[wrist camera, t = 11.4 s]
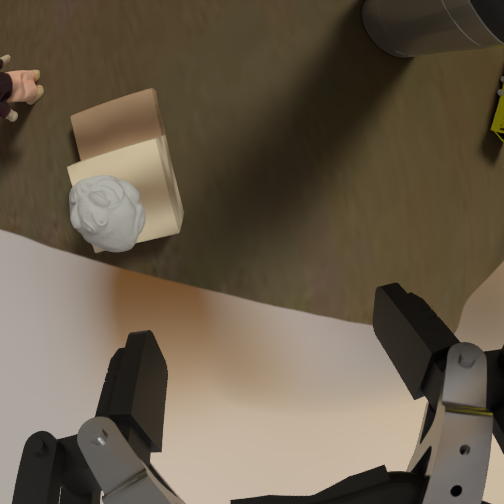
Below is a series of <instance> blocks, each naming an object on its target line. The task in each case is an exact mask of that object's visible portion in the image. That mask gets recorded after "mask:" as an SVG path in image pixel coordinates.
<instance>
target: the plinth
mask: <svg viewBox="0 0 504 504" xmlns="http://www.w3.org/2000/svg"><path fill="white" fill-rule="evenodd" d="M71 121H72V126H73V130H74V135H75V139H76V143H77V147H78V151H79V155H80V159H81V161H80V162H78V163H75V164H73V165H71V166H69V167H67V168H68V172H69V176H70V179H71V183H72V186H74V185H75V184H76V183H77V182H79V181H81V180H83V179H85V178H90V177H95V176H101V175H110V176H113V177H116V178H117V180H120V179H124V180H126V181H128V182H130V183H131V184H132V185H133V186H134V187H135V188H136V189H137V190H138V191H139V193H140V200H141V203H142V205H143V207H144V209H145V225H144V227H143V230H142V232H141V233H140V234H139V235H138V238H137V241H136V243H139V242H143V241H147V240H152V239H156V238H160V237H165V236H169V235H173V234H178V233H180V228H181V224H182V220H183V216H184V211H183V207H182V203H181V199H180V195H179V191H178V187H177V183H176V178H175V174H174V170H173V166H172V162H171V157H170V153H169V149H168V144H167V140H166V135H165V131H164V126H163V121H162V117H161V112H160V107H159V102H158V97H157V92H156V90H155V89H152V88H151V89H147V90H144V91H140V92H137V93H134V94H130V95H127V96H124V97H121V98H118V99H115V100H112V101H109V102H106V103H104V104H101V105H98V106H95V107H93V108H90V109H87V110H85V111H82V112H80V113H77V114H75V115H72V116H71ZM92 246H93V248H94V251H95V253H98V252H102V251H106V250H104V249H102V248H100V247H98V246H96V245H93V244H92Z"/></svg>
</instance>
